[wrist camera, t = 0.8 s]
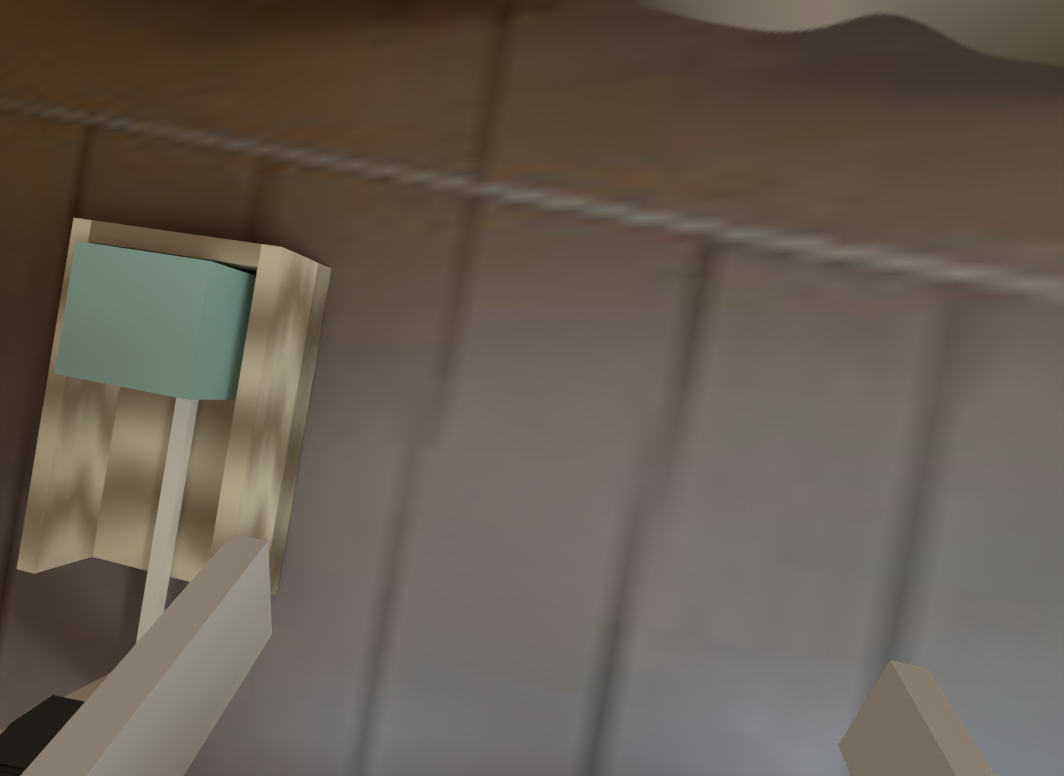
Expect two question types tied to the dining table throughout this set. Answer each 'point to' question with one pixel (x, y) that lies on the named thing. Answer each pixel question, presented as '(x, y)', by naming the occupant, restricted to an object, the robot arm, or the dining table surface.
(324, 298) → the lane
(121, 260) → the block sled
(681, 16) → the dining table surface
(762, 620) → the dining table surface
